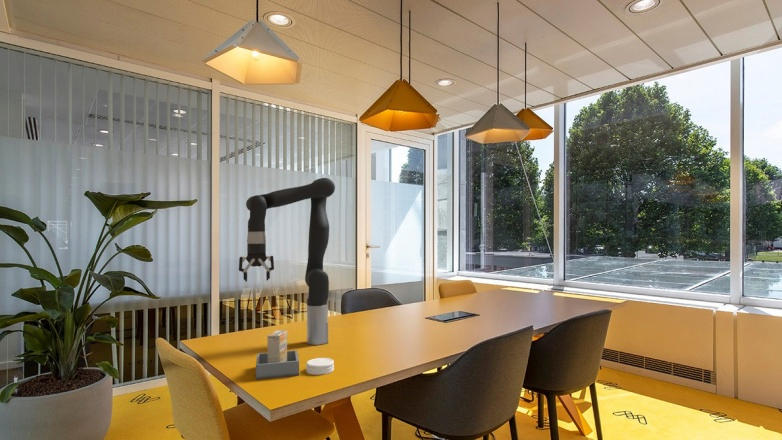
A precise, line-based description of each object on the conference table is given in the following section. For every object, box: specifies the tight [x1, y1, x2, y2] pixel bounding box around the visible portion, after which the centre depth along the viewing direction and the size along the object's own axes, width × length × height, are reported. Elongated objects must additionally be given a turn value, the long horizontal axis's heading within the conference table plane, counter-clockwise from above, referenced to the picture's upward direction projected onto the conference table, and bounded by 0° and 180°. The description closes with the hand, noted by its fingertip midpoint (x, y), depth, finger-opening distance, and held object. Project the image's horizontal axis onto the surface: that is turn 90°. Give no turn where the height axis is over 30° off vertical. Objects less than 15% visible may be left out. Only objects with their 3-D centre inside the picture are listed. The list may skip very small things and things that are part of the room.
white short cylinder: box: [305, 357, 335, 376], centre depth 158 cm, size 10×10×4 cm
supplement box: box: [266, 330, 288, 363], centre depth 159 cm, size 8×5×13 cm, turn 175°
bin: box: [255, 349, 300, 381], centre depth 158 cm, size 15×15×5 cm
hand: (256, 280), depth 184 cm, fingers open, 8 cm apart
